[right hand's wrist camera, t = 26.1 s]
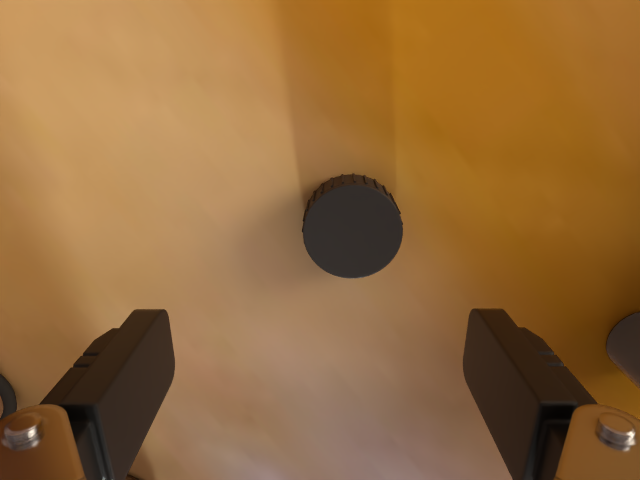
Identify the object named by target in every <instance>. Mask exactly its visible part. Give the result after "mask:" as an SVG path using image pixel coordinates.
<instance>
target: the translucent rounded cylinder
mask: <svg viewBox="0 0 640 480" xmlns="http://www.w3.org/2000/svg"><path fill="white" fill-rule="evenodd" d="M606 349H607V353H608V356H609V358H610V359H611V361H612V362H613V363H614V364H615V365H616V366H617V367H618V368H619V369H620V370H621V371H622V372H623V373H624V374H625V375H626V376H627V377H628V378H629V379H630V380H631V381H632V382H633V383H634V384H635V385H636V386H637V387H638V388H639V389H640V312H637V313H634V314H632V315H630V316H628V317H626V318H624V319H623V320H622V321H620V322H619V323H618V324H617V325H616V326H615V327H614V328H613V329H612V331H611V332H610V334H609V336H608V339H607V344H606Z"/></svg>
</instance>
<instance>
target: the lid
mask: <svg viewBox="0 0 640 480" xmlns="http://www.w3.org/2000/svg"><path fill="white" fill-rule="evenodd" d="M400 214H401V213H400V211H399V209H398V207H397V205H396V203H395V201H394V199H393V197H392V195H391V193H390V194H389V193H388V192H387V190H386V188H385V186H384V185H383V186H382V185H380V184H379V183H378V182H377V181H376V180H375V179H374V180H372V179H370V178H368V177H366V175H363V176H361V175H355V174H354V173H353V174H352V175H343V174H342V175H341V176H339V177H336V178H331V180H329V181H327V182H326V183H324V184H323V183H322V184H321V186H320V187H319V188H318V189H317V190H316V191H314V192H313V196H312V197H311V199H310V200H308V203H307V208H306V210H305V213H304V217H303V221H304V223H303V228H302V232H303V239H304V244H305V247H306V250H307V252H308V254H309V255H310V257H311V258H312V260H313V261H314V262H315V263H316V264H317V265H318V266H319V267H320V268H322V269H323V270H325V271H326V272H328V273H330V274H332V275H335V276H338V277H342V278H362V277H366V276H369V275H372V274H374V273H376V272H378V271H380V270H381V269H383V268H384V267H385V266H386V265H388V264H389V263H390V262H391V260H392V259H393V258H394V257H395V255H396V253H397V252H398V249H399V247H400V244H401V241H402V235H403V227H402V225H403V223H402V221H401V217H400Z"/></svg>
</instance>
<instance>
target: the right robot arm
mask: <svg viewBox="0 0 640 480" xmlns="http://www.w3.org/2000/svg"><path fill="white" fill-rule="evenodd" d="M174 370H175V358H174V351H173V344H172V337H171V330H170V323H169V316H168V313H167V311H166V310H164V309H136V310H134V311H133V312H132V313H131V314H130V315H129V317H128V318H127V319H126V320H125V322H124V323H123V324H122V325H121V327H120V328H113V329H111V330H109V331H108V332H106V333H105V334H103V335H102V336H100V337H98V338H97V339H95V340H94V341H93V343H92V344H91V345H90V346H89V347H88V348H87V349H86V351H85V352H84V353H83V356H80V358H79V359H78V360H77V361H76V362H75V363H74V365H73V368H70V369H69V370H68V371H67V373H66V374H65V375H64V376H63V377H62V378H61V380H60V381H59V382H58V383H57V384H56V385H55V387H54V388H53V389H52V390H51V391H50V392H49V394H48V395H47V396H46V397H45V398H44V399H43V400H42V402H41V403H40V404H39V405H35V406H31V407H27V408H24V409H21V410H19V411H16V409H17V402H16V396H15V393H14V390H13V388H12V387H11V385H10V384H9V382H8V381H7V380H6V379H5V378H4V377H3V376H2V375H1V374H0V396H1V398H2V401H3V414H2V416H1V418H0V480H138V479H136V478H134V477H132V476H130V475H128V472H129V470H130V468H131V465H132V463H133V461H134V459H135V457H136V455H137V453H138V451H139V449H140V447H141V445H142V443H143V441H144V439H145V437H146V435H147V433H148V431H149V429H150V427H151V424H152V422H153V420H154V418H155V416H156V414H157V412H158V410H159V408H160V406H161V404H162V402H163V400H164V398H165V396H166V394H167V392H168V390H169V388H170V385H171V383H172V380H173V377H174ZM463 371H464V377H465V380H466V383H467V385H468V387H469V389H470V391H471V393H472V395H473V398H474V400H475V402H476V404H477V406H478V408H479V410H480V412H481V414H482V416H483V418H484V420H485V422H486V425H487V427H488V429H489V431H490V433H491V435H492V437H493V439H494V441H495V443H496V445H497V447H498V449H499V452H500V454H501V456H502V458H503V460H504V462H505V464H506V466H507V468H508V470H509V472H510V474H511V476H512V479H513V480H640V420H639V419H637V418H635V417H634V416H632V415H630V414H628V413H626V412H624V411H621V410H619V409H616V408H613V407H609V406H605V405H598V403H597V402H596V401H595V400H594V399H593V398H592V396H591V395H590V394H589V393H588V392H587V391H586V389H585V388H584V387H583V386H582V385H581V383H580V382H579V381H578V380H577V379H576V378H575V376H574V375H573V374H572V373H571V372H570V371H569V369H568V368H567V367H564V365H563V362H562V361H561V360H560V359H559V358H558V357H557V355H554V352H553V351H552V350H551V348H550V347H549V346H548V345H547V344H546V343H545V341H544V340H543V339H542V338H540V337H539V336H537V335H535V334H534V333H532V332H531V331H529V330H528V329H526V328H518V327H517V325H516V324H515V323H514V322H513V320H512V319H511V318H510V317H509V315H508V314H507V313H506V312H505V311H504V310H503V309H472V310H471V312H470V315H469V320H468V327H467V334H466V341H465V348H464V356H463Z"/></svg>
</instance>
